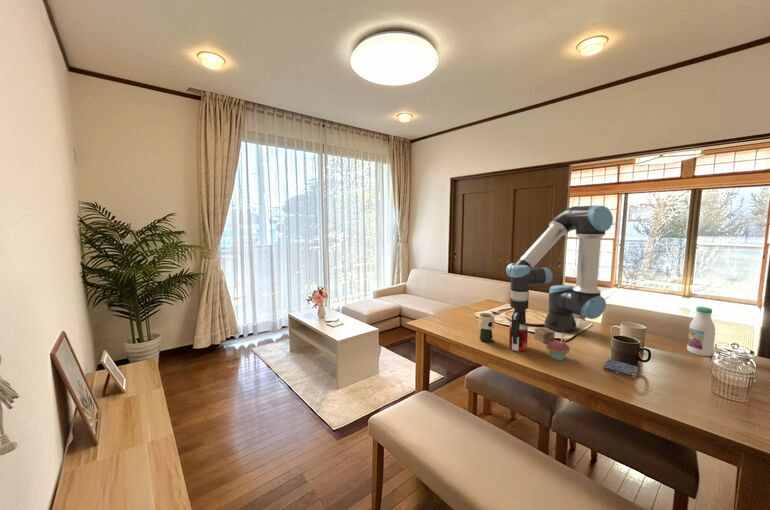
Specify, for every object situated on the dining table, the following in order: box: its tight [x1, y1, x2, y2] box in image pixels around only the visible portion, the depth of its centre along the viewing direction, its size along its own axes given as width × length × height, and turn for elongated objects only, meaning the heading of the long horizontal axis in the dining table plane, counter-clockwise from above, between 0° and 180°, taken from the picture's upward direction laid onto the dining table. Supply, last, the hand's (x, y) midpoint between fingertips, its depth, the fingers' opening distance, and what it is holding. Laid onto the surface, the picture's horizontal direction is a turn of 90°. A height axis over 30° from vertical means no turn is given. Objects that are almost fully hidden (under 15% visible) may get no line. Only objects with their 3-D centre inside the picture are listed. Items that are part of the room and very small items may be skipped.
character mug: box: [478, 312, 495, 342], centre depth 148 cm, size 11×7×13 cm, turn 136°
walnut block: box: [534, 327, 555, 344], centre depth 147 cm, size 6×6×5 cm
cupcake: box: [545, 332, 571, 361], centre depth 128 cm, size 9×8×12 cm
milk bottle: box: [686, 306, 716, 357], centre depth 128 cm, size 8×8×20 cm
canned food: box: [508, 322, 529, 352], centre depth 139 cm, size 8×8×11 cm
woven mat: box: [602, 358, 639, 380], centre depth 118 cm, size 10×11×2 cm
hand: (518, 346), depth 139 cm, fingers closed on canned food, 8 cm apart
